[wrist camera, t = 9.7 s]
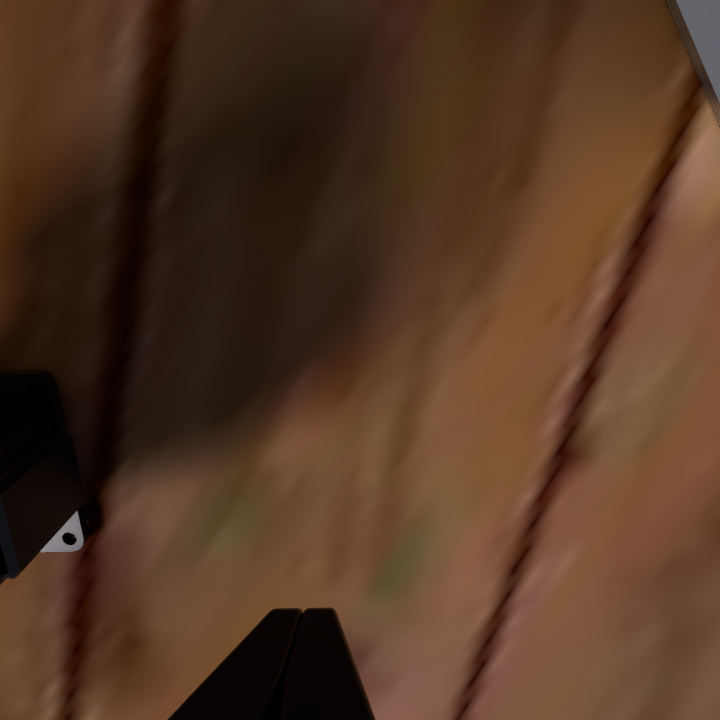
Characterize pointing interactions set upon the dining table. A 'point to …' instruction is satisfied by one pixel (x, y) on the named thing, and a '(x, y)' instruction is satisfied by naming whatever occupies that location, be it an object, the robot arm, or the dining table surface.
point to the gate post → (701, 42)
